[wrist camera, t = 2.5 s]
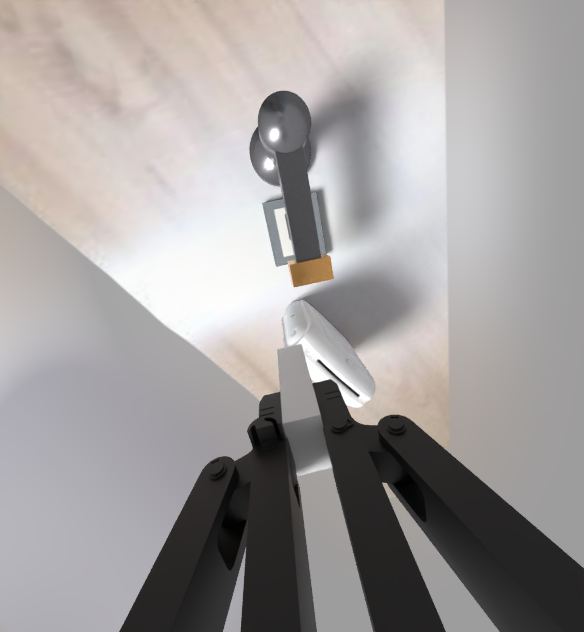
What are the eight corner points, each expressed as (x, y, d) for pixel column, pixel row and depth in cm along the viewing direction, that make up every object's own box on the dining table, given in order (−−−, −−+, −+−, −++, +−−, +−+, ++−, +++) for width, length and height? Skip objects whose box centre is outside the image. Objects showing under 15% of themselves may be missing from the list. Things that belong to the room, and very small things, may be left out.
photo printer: (275, 316, 36) (278, 359, 24) (299, 292, 35) (314, 324, 23) (330, 365, 38) (357, 426, 26) (353, 344, 38) (392, 397, 26)
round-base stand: (243, 126, 29) (236, 97, 23) (303, 113, 29) (313, 81, 23) (258, 191, 31) (254, 182, 25) (314, 180, 31) (325, 167, 25)
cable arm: (254, 110, 23) (252, 95, 20) (301, 100, 23) (306, 84, 20) (289, 282, 27) (291, 287, 25) (329, 273, 28) (335, 278, 25)
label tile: (262, 203, 32) (262, 203, 30) (314, 192, 32) (316, 191, 30) (275, 265, 34) (276, 266, 33) (324, 255, 34) (326, 256, 33)
